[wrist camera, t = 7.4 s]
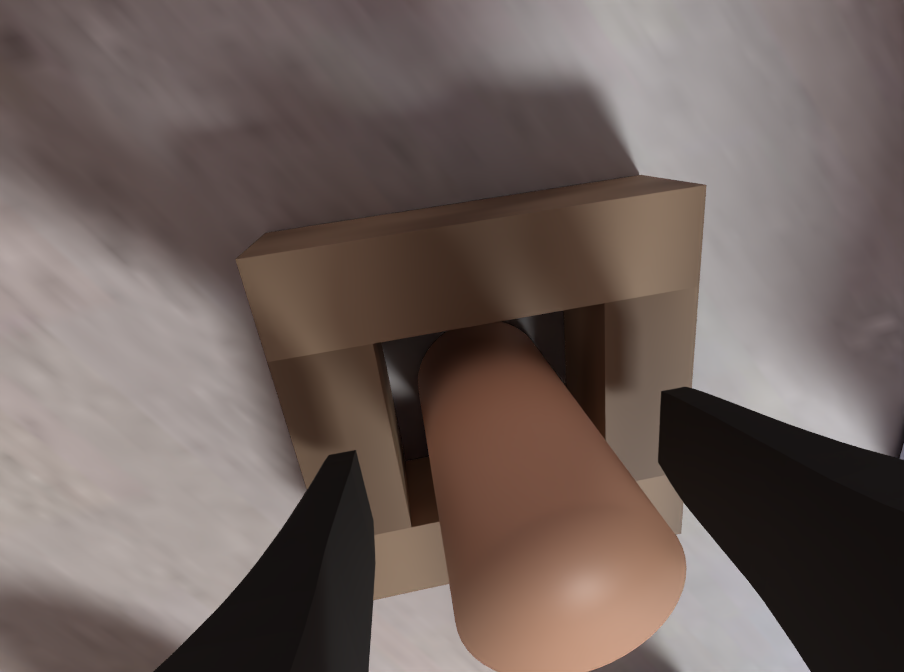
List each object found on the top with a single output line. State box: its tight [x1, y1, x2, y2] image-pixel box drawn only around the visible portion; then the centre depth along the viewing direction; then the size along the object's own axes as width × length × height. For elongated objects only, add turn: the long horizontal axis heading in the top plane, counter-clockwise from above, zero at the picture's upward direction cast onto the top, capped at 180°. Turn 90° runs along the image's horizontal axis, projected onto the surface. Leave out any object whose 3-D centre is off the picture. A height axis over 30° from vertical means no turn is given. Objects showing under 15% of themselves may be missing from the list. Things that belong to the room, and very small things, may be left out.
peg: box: [418, 322, 686, 672], centre depth 12 cm, size 4×4×8 cm
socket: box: [235, 175, 706, 600], centre depth 14 cm, size 10×10×3 cm
